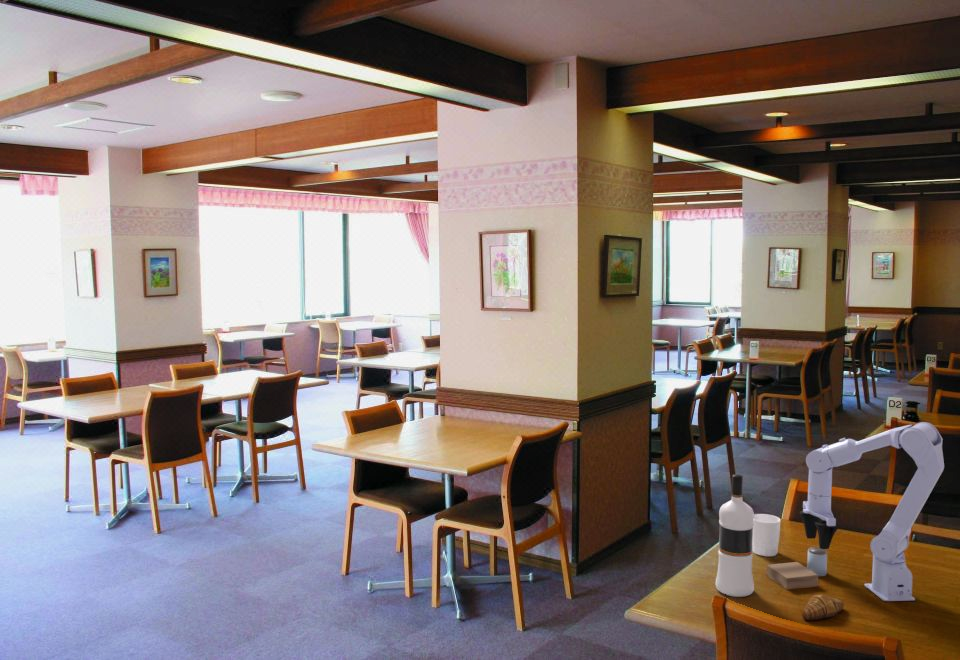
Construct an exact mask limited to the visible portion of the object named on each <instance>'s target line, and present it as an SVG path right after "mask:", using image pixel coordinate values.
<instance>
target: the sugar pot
mask: <svg viewBox="0 0 960 660" xmlns="http://www.w3.org/2000/svg"><path fill="white" fill-rule="evenodd" d="M806 559H807V560H806V561H807V562H806V564H807V565H806V568H808V569H809V570H811V571H813V572H814V573H816V574H817V575H818V577H825V576H826V575H827V566H828V551H827V549H820V546H810V547H808V549H807V558H806Z"/></svg>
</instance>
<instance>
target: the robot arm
mask: <svg viewBox="0 0 960 660" xmlns="http://www.w3.org/2000/svg"><path fill="white" fill-rule="evenodd" d="M943 440H944V439H943V437H942V435H941V434H940V432H939V430H938V429H937V428H936V426H934V425H933V424H932V423H930V422H925V421H921V422H917V423H916V424H914V425H913V424H907V425H903V426H899V427H893V428H891V429H889V430H886V431H883V432H880V433H876V434H875V435H872V436H869V437H866V438H864V439H861V440H856V439H853V438H847V439H846V437H843V438H840V439H838V442H835V443H832V444H828V443H827V444H823V445H821V447H820V448H817V449H814V450H812V451H810V452H809V453H808V454H807V455H806V457H805V463H806V466H807V468H808V479H807V481H808V483H807V485H808V486H807V500H804V501H803V502H802V510H799V512H798V513H799V515H800V517H801V519H802V522H803V527H804V531H805V536H806V539H809V540H811V539H813V540H814V539H816V537H817V535H818V547H820V549H825V550H829V549H830V547H831V543H832V540H833V538H834V535H835V533H836V532H837V531H838V530H839V527H840V525H839V524H838V523H836V522H837V519H836V518H835V517H834V514H833V511H832V486H833V485H832V484H833V468H837V467H840V466H844V465H847V464H850V463H853V462H856V461H859V460H860V459H861V458H862V455H863V454H864V453H867V452H870V451H874V450H878V449H881V448H885V447H889V446H891V447H893V448H895V449H901V448H902V449H903V450H904V451H905V452H906V453H907V454H908V455H909V456H910V458H912V460H913V461H914V463H915V465H916V467H917V470H916V471H915V472H914V475H913V477H912V478H911V480H910V482H909V484H908V486H907V487H906V489H905V491H904V493H903V495H902V497H901V499H900V501H899V503H898V504H897V506H896V508H895V510H894V512H893V514H892V515H891V517H890V519H889V521H888V522H887V523H886V524H885V526H884V527H883V528H882V530H881V532H880V533H879V534H878V535H876V536H875V537H874V538H872V539H871V541H870V547H869V548H870V551H871V553H872V570H871V571H872V574H871V583H864V587H865V588H867V589H868V590H869V591H871V592H872V593H873V594H874V595H876V596H877V598H880V599H881V600H882V601H884V602H901V601H903V602H904V601H905V602H907V601H915V600H916V598H915V597H914V596H912V595H913V578H914V577H913V573H912V571H911V570H910V569H909V568H908V566H907V564H906V555H905V553H904V552H905V551H906V550H907V549H908V547H909V544H910V540H909V539H910V538H909V537H910V535H911V532H912V527H913V525H914V524H915V522H916V520H917V518H918V516H919V514H920V513H921V511H922V509H923V507H924V505H925V504H926V502H927V500H928V498H929V497H930V494H931V493H932V491H933V489H934V487H935V486H936V484H937V482H938V481H939V478H940V476H942V473H943V472H944V469H945V463H944V461H945V460H944V453H943ZM820 520H822V521H820Z"/></svg>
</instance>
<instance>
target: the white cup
mask: <svg viewBox="0 0 960 660" xmlns="http://www.w3.org/2000/svg"><path fill="white" fill-rule="evenodd" d="M753 523H754V526H753V540H752V553H753V554H756V555H758V556H763V557H775V556H776V555H778V546H779V543H780V542H779V541H780V534H781V533H780V531H781V518H780V517H778V516H776V515H773V514H767V513H754V521H753Z"/></svg>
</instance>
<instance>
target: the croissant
mask: <svg viewBox="0 0 960 660" xmlns="http://www.w3.org/2000/svg"><path fill="white" fill-rule="evenodd" d="M844 606H845V605H844V602H843V601H842V600H840V599H839V598H835V597H831V596H829V595H826V594H814V595H811V597H809V600H808V602H807V604H806V605H805V607H804V608H803V611H802V615H801V616H802V619H803V620H805V621H818V620H822V619H828V618H832V617H834V616H835V615H836V614H840V612H842V610H843V609H844Z"/></svg>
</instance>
